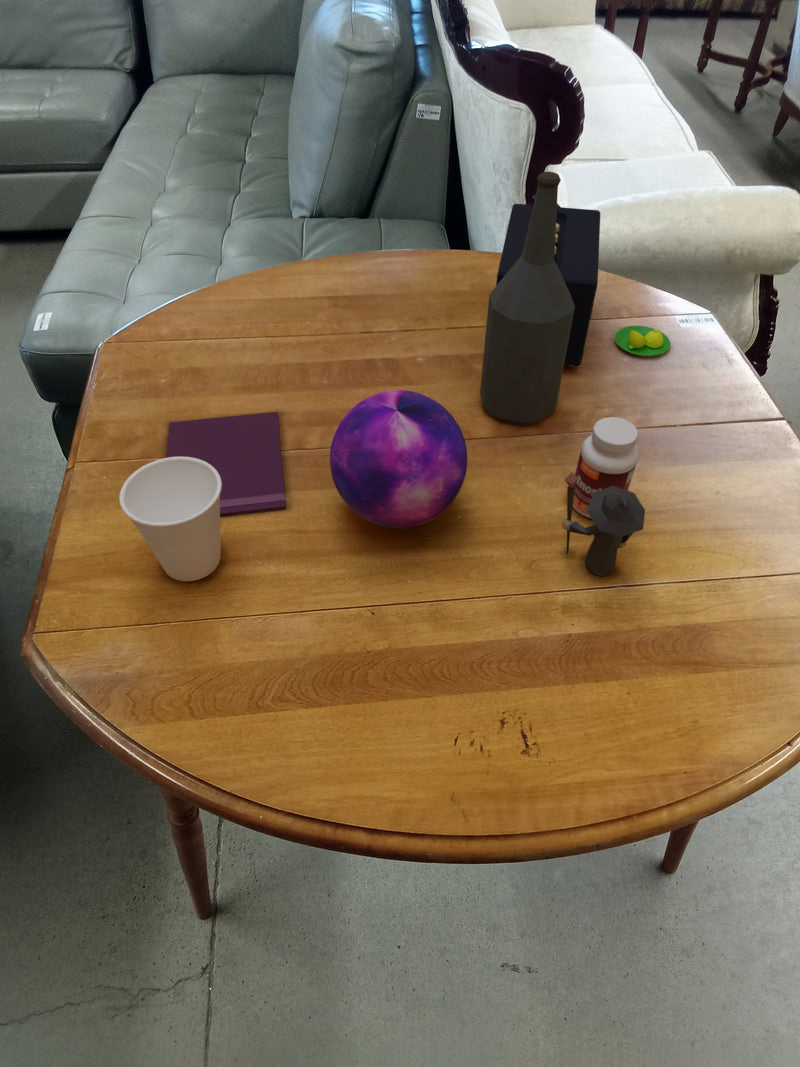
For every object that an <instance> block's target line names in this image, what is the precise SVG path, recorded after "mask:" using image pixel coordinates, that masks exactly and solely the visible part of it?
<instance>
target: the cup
mask: <svg viewBox="0 0 800 1067" xmlns="http://www.w3.org/2000/svg"><path fill="white" fill-rule="evenodd" d="M221 489H222V482H221V478H220V475H219V474H218V472H217V470H216V469H215V468H214V467H213V466H212V465H210V464H208V463H207V462H205V461H202V460H200V459H197V458H192V457H180V456H179V457H169V458H167V457H164V458H159V459H157V460H154V461H151V462H148V463H146V464H144V465H143V466H141V467H139V468H137V469H136V470H135V471H134V472H133V473H132V474H130V475H129V476H128V477H127V479H126V480H125V481H124V482H123V484H122V486H121V489H120V492H119V497H118V500H119V505H120V507H121V510H122V512H123V513H124V514H125V515H126V516H127V517H128V518H129V519H130V520H131V521H132V523H133V525H134V526H135V528H136V530H137V531H138V532H139V534H140V535H141V537H142V538H143V539H144V541H145V543H146V544H147V546H148V547H149V549H150V551H151V552H152V554H153V555H154V556H155V558H156V559H157V561H158V563H159V564H160V566H161V567H162V569H163V571H164V572H165V573H166V574H167V576H169V577H170V578H171V579H174V580H176V581H181V582H193V581H198V580H201V579H204V578H205V577H207V576H209V575H210V574H212V573H213V572H214V571H215V570H216V569H217V568H218V566H219V564H220V563H221V562H220V561H221V559H222V558H221V556H222V553H221V552H222V550H221V548H222V546H221V544H222V543H221V542H222V541H221V516H220V492H221Z"/></svg>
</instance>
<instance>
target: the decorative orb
mask: <svg viewBox="0 0 800 1067" xmlns="http://www.w3.org/2000/svg"><path fill="white" fill-rule="evenodd" d="M329 467H330V473H331V477H332V481H333V484H334V486H335V489H336V490H337V492H338V495H339V496H340V497H341V499H342V501H343V502H344V503H345V504H346V505H347V507H349V509H350V510H351V511H353V512H354V513H355V514H356V515H358V516H359V517H360V518H362V519H363V520H365V521H368V522H369V523H372V524H374V525H377V526H380V527H385V528H391V529H408V528H413V527H417V526H420V525H423V524H425V523H428V522H430V521H433V520H434V519H435V518H438V517H439V516H440V515H441V514H442V513H444V512H445V511H446V510H447V509H448V508H449V507H450V506H451V505H452V503H453V502H454V501H455V499H457V497H458V495H459V493H460V492H461V489H462V487H463V484H464V481H465V479H466V474H467V469H468V449H467V444H466V440H465V437H464V434H463V432H462V429H461V427H460V425H459V424H458V422H457V421H456V419H455V418H454V416H453V415H452V414H451V412H449V410H447V409H446V407H444V406H443V405H442V404H441V403H439V402H438V401H437V400H436V399H433V398H431V397H429V396H427V395H425V394H423V393H420V392H416V391H411V390H404V389H394V390H385V391H381V392H377V393H375V394H372V395H370V396H367V397H366V398H363V399H362V400H361V401H359V402H358V403H357V404H355V405H354V406H353V407H352V408H351V409H350V410H349V411H348V412H347V413H346V414H345V415H344V417H343V418H342V419H341V421H340V422H339V424H338V426H337V428H336V430H335V432H334V435H333V437H332V441H331V445H330V451H329Z"/></svg>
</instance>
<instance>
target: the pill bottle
mask: <svg viewBox="0 0 800 1067" xmlns="http://www.w3.org/2000/svg"><path fill="white" fill-rule="evenodd" d="M638 436H639V432H638V429H637V427H636V426H635V425H634V424H633V423H632V422H631V421H629V420H627V419H625V418H622V417H616V416H609V417H603V418H601V419H599V420H598V421H597V422H595V424H594V425H593V428H592V433H591V434H590V435H589V436H588V437H586V438H585V440H584V441H583V443H582V446H581V448H580V453H579V457H578V459H577V460H578V461H577V464H576V469H575V473H574V474H575V475H576V476H577V477H578V478H579V479H578V480H577V482H576V483H575V485H574V486H575V490H574V499H573V509H574V510H575V511H576V512H577V513H579V515H581V516H583V517H586V518H589V519H591V520H592V518H591V517H590V515H589V514H588V512H587V509H588V507H589V504H590V501H591V498H592V495H593V493H595V492H597V491H600V490H603V489H605V488H608V487H611V486H615V487H618V488H621V489H624V490H627V491H629V488H630V485H631V482H632V479H633V476H634V472H635V470H636V466H637V464H638V460H639V451H638V447H637V442H638Z"/></svg>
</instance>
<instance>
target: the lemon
mask: <svg viewBox="0 0 800 1067" xmlns="http://www.w3.org/2000/svg"><path fill="white" fill-rule="evenodd" d="M614 341H615V343H616V344H617V345H618V346H619V348H620V349H622V350H624V351H626V352H628V353H631V354H634V355H638V356H644V357H646V356H647V357H650V356H652V357H653V356H658V355H661V354H664V353H666V352H667V351H668V350H669V349H670V347H671V342H670V339H669V337H668V336H667V335H666V334H665V333H664V332H662V331H661V330H659V329H658V328H653V327H650V326H646V325H645V326H644V325H629V326H624V327H622V328H620V329H618V330H617V331H616V333H615V335H614Z"/></svg>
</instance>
